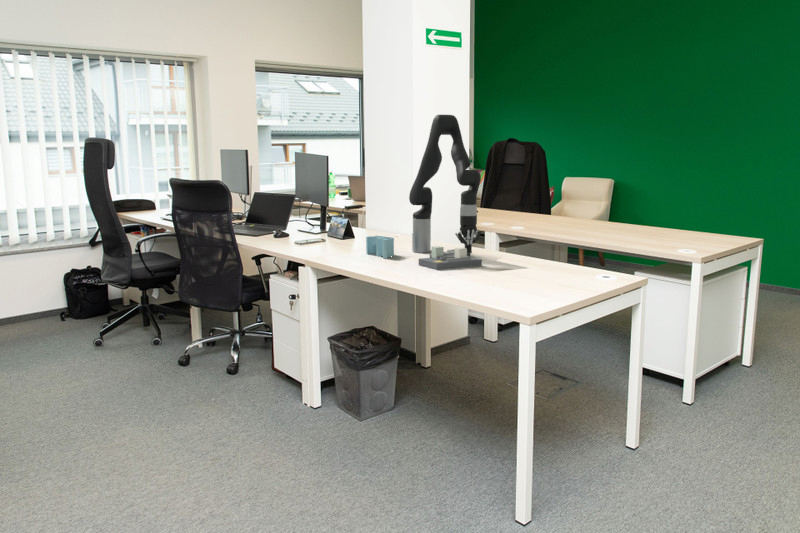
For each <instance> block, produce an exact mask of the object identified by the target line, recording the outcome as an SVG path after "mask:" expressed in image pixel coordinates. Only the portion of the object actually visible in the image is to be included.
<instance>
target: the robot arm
mask: <svg viewBox="0 0 800 533" xmlns="http://www.w3.org/2000/svg"><path fill="white" fill-rule="evenodd" d="M445 135H446V136H450V137H451V139H452V146H451V150H450V156H451V159H452V161H453V164H454V166H455V173H456V181H457V183H458V184H459V185H460V186H463V187H466V186H468V189H466V190H464V191H462V192H461V193H460V209H459V210H460V211H459V225H460V227H459V231H458V232H455V236H456V237H457V239H458V241H459V242H460V243H461V244H462V245H463V244H464V248H467V253H471V251H472V246H473V244H475V243H477V241H478V239H479V237H480V236H481V234H482V232H481V231H479V230H478V228H477V225H478V224H477V223H478V207H477V196H478V193H479V192H478V191H479V187H480V184H481V180H482V178H481V177H482V176H481V173H480V171H479V170H478V169H469V168H470V167H471V164H472V162H471V160H470V158H469V155H468V152H467V151H466V148H465V145H464V141H463V136H462V133H461V129H460V125H459V121H458V119H457V117H456V116H455V114H454V115H453V114H437V115H435V116H434V118H433V119H432V124H431V126H430V130H429V135H428V140H427V143H426V147H425V151H424V153H423V156H422V158H421V161H420V164H419V165H420V166H419V167H418V168H419V170H418V172H417V175H416V178H415V180H414V181H413V184H412V187H411V189H410V191H409V197H408V199H409V203H410V204H411V205H412V206H421V207H420V209H418V210H417V211H415V212H413V213H412V233H411V237H412V238H411V239H412V241H411V242H412V244H411V247H412V248H411V250H412V253H419V254H422V253H424V254H425V253H432V246H431V245H432V244H431V240H432V237H431V232H432V231H431V228H432V225H431V224H432V220H431V219H432V212H433V210H432V209H433V191H432V188H430V187H429V186H425V185H426V184H427V183H428V181H430V180H431V179H433V177H434V176H436V174H437V173H438V171H439V169H440V166H441V163H442V161H443V160H442V159H443V155H442V152H441V149H440V145H439V141H440V139H441V138H440V137H441V136H445ZM472 252H473V251H472ZM471 254H472V253H471Z"/></svg>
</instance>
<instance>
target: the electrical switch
mask: <svg viewBox="0 0 800 533" xmlns="http://www.w3.org/2000/svg"><path fill="white" fill-rule="evenodd" d="M446 253H453V255H455V248H454V249H447V250H446ZM472 254H473V251H471V253H467V256H469V257H472V256H471V255H472Z"/></svg>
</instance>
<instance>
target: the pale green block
mask: <svg viewBox="0 0 800 533" xmlns="http://www.w3.org/2000/svg"><path fill="white" fill-rule="evenodd" d="M444 253H445V252H444V247H443V246H441V245H437V246H431V254H432V257H431V258H435V259H436V256H443V255H444Z"/></svg>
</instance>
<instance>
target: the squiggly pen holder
mask: <svg viewBox="0 0 800 533" xmlns="http://www.w3.org/2000/svg"><path fill="white" fill-rule="evenodd" d="M365 241H366V242H365V248H366V249H365V250H366V252H365V253H366V255H367V254H368V255H371V254H370V253H376V254H375V255H376V257H377V256H383V257H382V259H384V258H387V259H389V258H388V257H391V256H393V255H395V243H394V242H395V238H394V237H392V236H391V237H389V236H385V235H384V236H383V235H374V236H373V235H370V236H369V235H368V236H366V237H365ZM393 257H394V256H393ZM391 258H392V257H391Z"/></svg>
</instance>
